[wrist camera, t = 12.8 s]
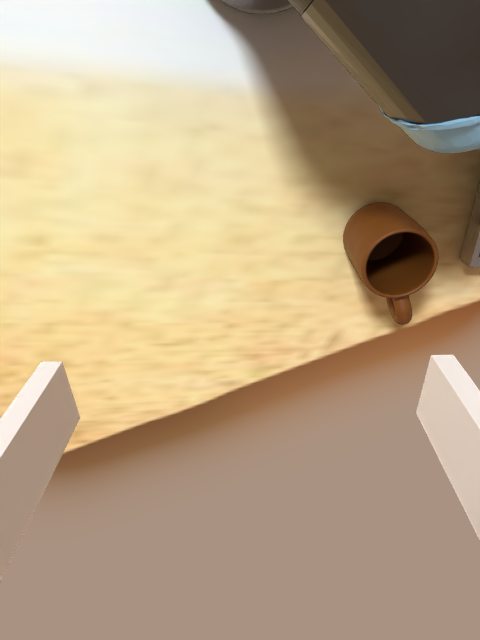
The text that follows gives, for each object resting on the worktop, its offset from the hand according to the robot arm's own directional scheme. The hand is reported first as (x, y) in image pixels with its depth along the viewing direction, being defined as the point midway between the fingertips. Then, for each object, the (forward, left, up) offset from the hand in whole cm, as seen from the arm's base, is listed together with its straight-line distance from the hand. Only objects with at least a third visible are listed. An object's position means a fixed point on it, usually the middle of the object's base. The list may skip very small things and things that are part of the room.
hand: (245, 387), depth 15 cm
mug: (+9, +15, -35) cm, 39 cm away
